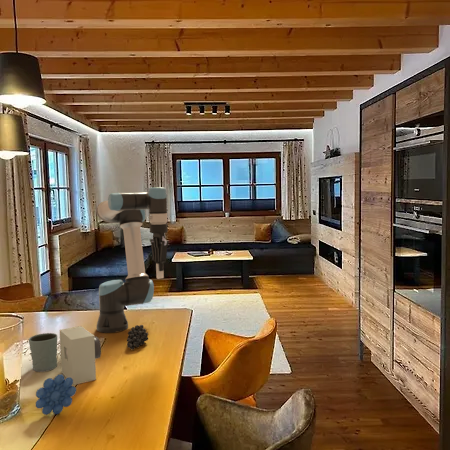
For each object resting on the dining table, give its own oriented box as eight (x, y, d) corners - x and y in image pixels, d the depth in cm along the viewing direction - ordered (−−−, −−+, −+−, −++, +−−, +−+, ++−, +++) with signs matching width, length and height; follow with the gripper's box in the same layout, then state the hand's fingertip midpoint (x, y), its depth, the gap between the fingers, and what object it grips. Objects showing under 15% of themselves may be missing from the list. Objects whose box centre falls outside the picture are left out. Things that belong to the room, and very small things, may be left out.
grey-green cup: (64, 364, 180) (62, 334, 179) (46, 374, 170) (44, 342, 170) (43, 361, 183) (41, 332, 182) (24, 371, 174) (22, 339, 173)
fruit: (132, 331, 191) (146, 320, 205) (115, 336, 193) (130, 325, 207) (139, 351, 191) (153, 339, 206) (122, 356, 193) (136, 343, 207)
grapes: (77, 404, 145) (75, 367, 144) (77, 414, 138) (75, 375, 137) (37, 410, 141) (35, 372, 140) (35, 420, 135) (33, 380, 134)
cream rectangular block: (61, 371, 172) (59, 329, 171) (82, 367, 177) (81, 326, 176) (73, 385, 160) (71, 339, 159) (95, 379, 164) (94, 335, 163)
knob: (64, 361, 169) (63, 339, 169) (94, 354, 175) (93, 334, 175) (71, 367, 163) (70, 345, 162) (101, 360, 169) (100, 339, 168)
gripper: (143, 223, 200) (145, 277, 202) (157, 224, 190) (159, 281, 191) (159, 222, 205) (161, 275, 206) (173, 223, 194) (175, 279, 195)
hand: (160, 278), depth 199 cm, fingers closed
